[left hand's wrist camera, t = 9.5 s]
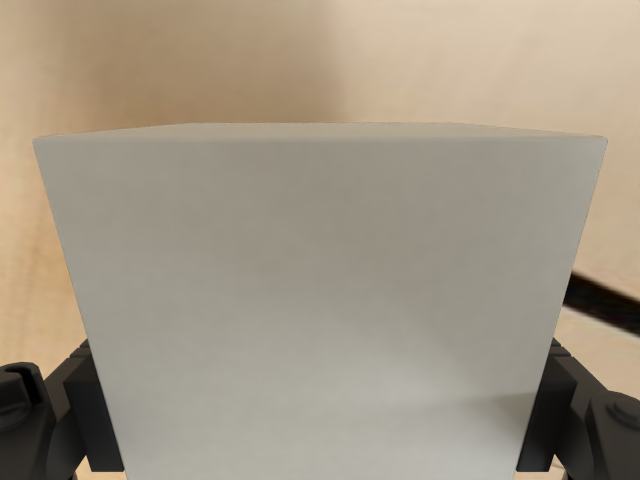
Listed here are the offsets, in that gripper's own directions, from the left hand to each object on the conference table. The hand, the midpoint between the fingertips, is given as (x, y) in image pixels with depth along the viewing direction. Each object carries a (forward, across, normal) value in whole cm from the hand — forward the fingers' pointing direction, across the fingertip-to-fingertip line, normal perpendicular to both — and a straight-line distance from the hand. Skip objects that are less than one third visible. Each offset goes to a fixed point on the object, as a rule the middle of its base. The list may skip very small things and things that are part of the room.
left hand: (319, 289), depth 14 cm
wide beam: (+1, 0, -35) cm, 35 cm away
